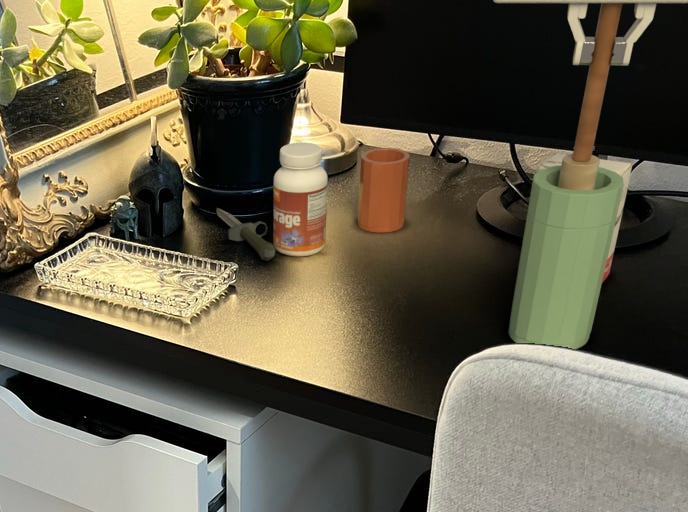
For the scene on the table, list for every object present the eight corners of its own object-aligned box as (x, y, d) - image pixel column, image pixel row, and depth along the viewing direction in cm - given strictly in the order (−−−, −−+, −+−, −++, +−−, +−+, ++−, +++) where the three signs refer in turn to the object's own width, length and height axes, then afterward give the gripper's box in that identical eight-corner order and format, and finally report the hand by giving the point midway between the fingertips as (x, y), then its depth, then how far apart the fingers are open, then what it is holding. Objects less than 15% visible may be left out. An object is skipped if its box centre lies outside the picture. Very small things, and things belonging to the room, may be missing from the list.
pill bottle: (262, 247, 120) (261, 149, 113) (300, 233, 123) (302, 136, 115) (297, 262, 116) (298, 162, 109) (336, 247, 119) (339, 148, 111)
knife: (201, 202, 128) (238, 196, 129) (202, 218, 130) (238, 212, 131) (253, 248, 115) (294, 241, 116) (254, 266, 116) (294, 259, 117)
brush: (583, 231, 95) (637, -31, 81) (584, 245, 93) (640, -23, 79) (548, 230, 96) (596, -31, 82) (548, 243, 94) (597, -23, 79)
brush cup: (406, 216, 126) (411, 148, 120) (401, 233, 122) (406, 164, 116) (361, 214, 127) (364, 147, 121) (355, 231, 123) (358, 163, 117)
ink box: (611, 274, 110) (637, 161, 102) (596, 291, 108) (621, 176, 100) (535, 259, 114) (554, 149, 106) (519, 275, 111) (537, 163, 103)
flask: (587, 319, 103) (621, 165, 93) (589, 355, 97) (626, 196, 87) (509, 314, 105) (534, 163, 94) (507, 349, 99) (533, 192, 89)
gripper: (496, -135, 75) (471, 72, 84) (794, -143, 71) (733, 75, 80) (499, -145, 79) (475, 52, 89) (780, -153, 75) (724, 55, 85)
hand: (600, 63), depth 84 cm, fingers closed on brush
